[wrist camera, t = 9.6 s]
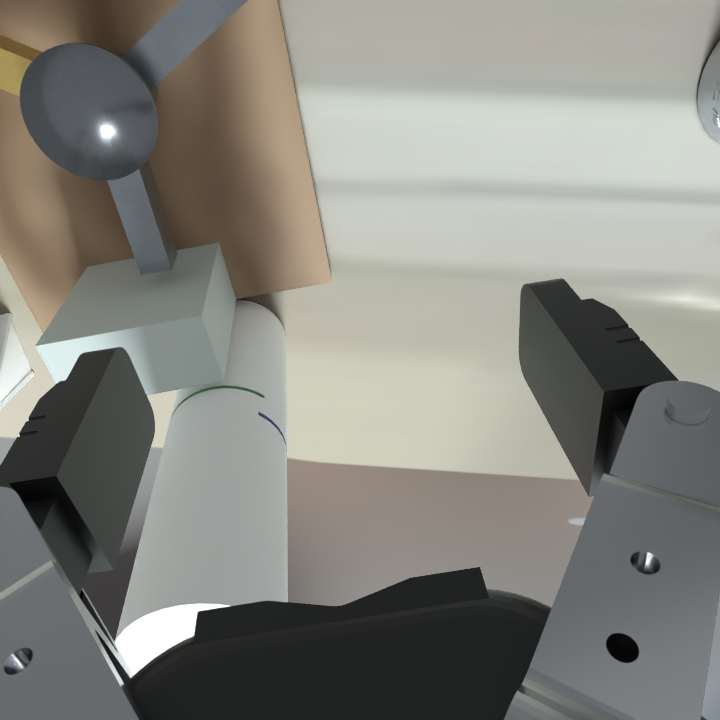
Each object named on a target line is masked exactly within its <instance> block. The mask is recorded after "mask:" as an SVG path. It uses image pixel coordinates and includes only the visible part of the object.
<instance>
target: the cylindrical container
mask: <svg viewBox="0 0 720 720" xmlns="http://www.w3.org/2000/svg"><path fill="white" fill-rule="evenodd" d="M287 588H288V586H287V424H286V335H285V331H284V328H283V326H282V324H281V322H280V321H279V319H278V318H277V317H276V316H275V315H274V314H273V313H272V312H271V311H270V310H268V309H267V308H265V307H263V306H261V305H259V304H257V303H254V302H251V301H245V300H236V304H235V311H234V318H233V325H232V332H231V339H230V346H229V353H228V360H227V367H226V374H225V381H221V382H216V383H210V384H205V385H199V386H194V387H188V388H183V389H178V391H177V395H176V399H175V403H174V407H173V411H172V415H171V420H170V423H169V427H168V431H167V435H166V439H165V443H164V447H163V451H162V456H161V459H160V463H159V467H158V471H157V475H156V479H155V483H154V488H153V491H152V496H151V499H150V504H149V507H148V511H147V515H146V520H145V523H144V528H143V532H142V535H141V539H140V543H139V547H138V552H137V555H136V559H135V563H134V567H133V572H132V576H131V579H130V584H129V587H128V591H127V595H126V599H125V603H124V607H123V611H122V615H121V619H120V623H119V628H118V631H117V635H116V639H115V644H116V646H117V648H118V649H119V651H120V653H121V654H122V656H123V658H124V660H125V661H126V663H127V665H128V666H129V668H130V670H131V671H132V673H133V674H134V675H135V674H136V673H137V672H138V671H139V670H140V669H141V668H143V667H144V666H145V665H146V664H148V663H149V662H150V661H151V660H153V659H154V658H155V657H157V656H158V655H160V654H161V653H163V652H164V651H166V650H167V649H169V648H170V647H172V646H174V645H176V644H178V643H180V642H182V641H183V640H185V639H187V638H190V637H192V636H194V632H195V626H196V619H197V613H198V611H203V610H209V609H216V608H222V607H229V606H235V605H241V604H248V603H254V602H260V601H279V602H288V597H287V596H288V593H287V592H288V590H287Z"/></svg>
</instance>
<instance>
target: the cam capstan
mask: <svg viewBox="0 0 720 720" xmlns="http://www.w3.org/2000/svg"><path fill="white" fill-rule="evenodd" d="M247 1H248V0H181V1H180V2H179V3H178V4H177V5H176V6H175V7H174V8H173V9H172V10H171V11H169V12H168V13H167V14H166V15H165V16H164V17H163V18H162V19H161V20H160V21H159V22H158V23H157V24H156V25H155V26H154V27H153V28H152V29H151V30H150V31H149V32H148V33H147V34H146V35H145V36H144V37H143V38H142V39H140V40H139V41H138V42H137V43H136V44H135V45H134V46H133V47H132V48H131V49H130V50H129V51H128V52H127V53H126V54H116V53H114V52H112V51H110V50H108V49H106V48H103V47H100V46H98V45H94V44H89V43H81V42H74V43H65V44H61V45H58V46H55V47H52V48H50V49H47V50H46V51H44V52H41V51H39V50H36V49H34V48H31V47H29V46H27V45H24V44H22V43H19V42H17V41H14V40H12V39H10V38H7V37H5V36H2V35H0V89H2V90H5V91H7V92H10V93H12V94H15V95H18V96H20V108H21V112H22V117H23V120H24V122H25V125H26V127H27V129H28V132H29V134H30V135H31V137H32V139H33V140H34V142H35V143H36V144H37V146H38V147H39V148H40V150H41V151H42V152H43V153H44V154H45V155H46V156H47V157H48V158H49V159H51V160H52V161H53V162H54V163H55V164H57V165H58V166H60V167H61V168H63V169H65V170H66V171H68V172H70V173H72V174H75V175H77V176H80V177H83V178H86V179H91V180H100V181H107V182H108V184H109V187H110V190H111V193H112V196H113V198H114V201H115V204H116V207H117V210H118V212H119V215H120V218H121V221H122V224H123V227H124V229H125V232H126V235H127V238H128V241H129V243H130V246H131V249H132V252H133V255H134V257H135V260H136V263H137V266H138V269H139V271H140V274H141V275H143V274H150V273H157V272H164V271H171V270H172V268H173V265H174V263H175V260H176V257H177V254H178V253H177V250H176V246H175V243H174V240H173V237H172V233H171V230H170V227H169V224H168V220H167V217H166V214H165V211H164V207H163V204H162V201H161V198H160V195H159V191H158V188H157V185H156V182H155V178H154V175H153V172H152V169H151V165H150V162H149V159H148V158H149V156H150V155H151V153H152V151H153V149H154V147H155V145H156V142H157V139H158V133H159V116H158V110H157V106H156V105H157V102H158V88H157V84H158V83H159V82H160V81H162V80H163V79H164V78H165V77H166V76H167V75H168V74H169V73H170V72H171V71H172V70H173V69H174V68H176V67H177V66H178V65H179V64H180V63H181V62H182V61H183V60H184V59H185V58H186V57H187V56H189V55H190V54H191V53H192V52H193V51H194V50H195V49H196V48H197V47H198V46H199V45H200V44H201V43H203V42H204V41H205V40H206V39H207V38H208V37H209V36H210V35H211V34H212V33H213V32H214V31H215V30H217V29H218V28H219V27H220V26H221V25H222V24H223V23H224V22H225V21H226V20H227V19H228V18H229V17H231V16H232V15H233V14H234V13H235V12H236V11H237V10H238V9H239V8H240V7H241V6H242V5H243V4H245V3H246V2H247Z"/></svg>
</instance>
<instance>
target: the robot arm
mask: <svg viewBox="0 0 720 720" xmlns="http://www.w3.org/2000/svg"><path fill="white" fill-rule="evenodd" d="M697 105H698V113H699V118H700V121H701V123H702V126H703V128H704V130H705V131H706V132H707V133H708V135H709V136H710V137H711V138H712V139H713V140H715V141H716V142H718V143H719V144H720V40H719V42H718V44H717V45H716V47H715V48H714V50H713V51H712V53H711V55H710V57H709V59H708V61H707V63H706V66H705V68H704V70H703V73H702V77H701V80H700V84H699V88H698V100H697ZM519 359H520V365H521V369H522V373H523V376H524V378H525V380H526V382H527V384H528V386H529V387H530V389H531V391H532V393H533V395H534V397H535V399H536V400H537V402H538V404H539V406H540V408H541V410H542V411H543V413H544V415H545V417H546V419H547V421H548V422H549V424H550V426H551V428H552V430H553V432H554V434H555V435H556V437H557V439H558V441H559V443H560V445H561V446H562V448H563V450H564V452H565V454H566V456H567V457H568V459H569V461H570V463H571V465H572V467H573V468H574V470H575V472H576V474H577V476H578V478H579V480H580V481H581V483H582V485H583V487H584V489H585V491H586V492H587V494H588V496H589V497H591V496H594V498H593V501H592V504H591V506H590V509H589V512H588V514H587V517H586V519H585V522H584V525H583V527H582V530H581V532H580V535H579V538H578V540H577V543H576V546H575V548H574V551H573V553H572V556H571V559H570V561H569V564H568V567H567V569H566V572H565V574H564V577H563V580H562V583H561V585H560V588H559V590H558V593H557V596H556V598H555V601H554V604H553V606H552V608H551V607H549V606H547V605H545V604H542V603H540V602H538V601H536V600H533V599H531V598H527V597H524V596H521V595H518V594H514V593H509V592H505V591H500V590H492V589H486V586H485V583H484V579H483V576H482V573H481V570H480V567H477V568H471V569H464V570H458V571H452V572H445V573H440V574H432V575H426V576H420V577H413V578H409V579H407V580H404V581H402V582H399V583H397V584H395V585H392V586H390V587H387V588H385V589H382V590H380V591H378V592H375V593H373V594H371V595H368V596H365V597H363V598H361V599H358V600H356V601H353V602H351V603H348V604H345V605H342V606H322V605H311V604H301V603H289V602H279V601H260V602H254V603H248V604H241V605H235V606H229V607H222V608H216V609H209V610H203V611H198V613H197V619H196V626H195V632H194V636H192V637H190V638H187V639H185V640H183V641H182V642H180V643H178V644H176V645H174V646H172V647H170V648H169V649H167V650H166V651H164V652H163V653H161V654H160V655H158V656H157V657H155V658H154V659H153V660H151V661H150V662H149V663H148V664H146V665H145V666H144V667H143V668H141V669H140V670H139V671H138V672H137V673H136V674H135V675H134V674H133V673H132V671H131V670H130V668H129V666H128V665H127V663H126V661H125V660H124V658H123V656H122V654H121V653H120V651H119V649H118V648H117V646H116V644H115V642H114V641H113V639H112V637H111V636H110V634H109V632H108V630H107V629H106V627H105V625H104V623H103V622H102V620H101V618H100V617H99V615H98V614H97V611H96V610H95V608H94V606H93V605H92V603H91V601H90V599H89V598H88V596H87V595H86V593H85V592H84V590H83V589H82V587H83V584H84V581H85V578H86V575H87V574H89V573H95V572H102V571H108V570H113V569H114V567H115V563H116V560H117V557H118V553H119V550H120V546H121V543H122V540H123V537H124V533H125V530H126V527H127V524H128V520H129V517H130V514H131V510H132V507H133V504H134V500H135V497H136V494H137V490H138V487H139V484H140V480H141V477H142V474H143V471H144V467H145V464H146V461H147V457H148V454H149V451H150V448H151V444H152V441H153V438H154V432H155V421H154V414H153V410H152V407H151V404H150V402H149V400H148V398H147V395H146V393H145V391H144V388H143V386H142V384H141V381H140V379H139V377H138V375H137V372H136V370H135V368H134V365H133V363H132V361H131V358H130V356H129V354H128V353H127V351H126V350H125V349H124V348H122V347H116V348H110V349H104V350H97V351H91V352H84V353H82V354H81V355H80V356H79V357H78V359H77V361H76V363H75V365H74V366H73V368H72V370H71V372H70V374H69V375H68V377H67V379H66V380H64V381H59V382H58V383H57V384H56V385H55V386H54V387H53V388H51V389H50V390H49V391H48V392H47V393H46V394H45V395H44V396H43V397H41V398H40V399H39V401H38V403H37V404H36V406H35V408H34V409H33V411H32V413H31V414H30V416H29V421H28V422H26V423H25V425H24V426H23V428H22V430H21V431H20V433H19V434H20V437H17V438H16V440H15V442H14V443H13V445H12V447H11V448H10V450H9V452H8V454H7V455H6V457H5V459H4V461H3V462H2V464H1V465H0V720H707V719H705V718H704V717H702V716H701V712H702V706H703V699H704V692H705V686H706V680H707V673H708V666H709V660H710V654H711V647H712V640H713V634H714V628H715V621H716V615H717V608H718V602H719V595H720V392H719V391H717V390H714V389H712V388H710V387H707V386H704V385H701V384H697V383H693V382H687V381H679V380H678V379H677V378H676V377H675V376H674V375H673V374H672V372H671V371H670V370H669V369H668V368H667V367H666V366H665V365H664V364H663V363H662V361H661V360H660V359H659V358H658V357H657V356H656V355H655V354H654V353H653V352H652V350H651V349H650V348H649V347H648V346H647V345H646V344H645V343H644V342H643V341H640V337H639V336H638V335H637V334H636V333H635V332H634V331H633V330H632V328H629V327H628V324H627V323H626V322H625V321H624V320H623V319H622V317H621V316H620V315H619V314H618V313H617V312H616V311H615V310H614V309H612V308H610V307H608V306H606V305H604V304H602V303H600V302H598V301H596V300H594V299H586V300H581V299H580V298H579V297H578V295H577V294H576V293H575V292H574V291H573V289H572V288H571V287H570V286H569V285H568V283H567V282H566V281H565V280H564V279H555V280H548V281H542V282H536V283H529V284H524V285H523V287H522V290H521V298H520V327H519Z"/></svg>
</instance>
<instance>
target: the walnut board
mask: <svg viewBox="0 0 720 720" xmlns="http://www.w3.org/2000/svg"><path fill="white" fill-rule="evenodd" d="M180 1H181V0H0V35H2V36H5V37H7V38H10V39H12V40H14V41H17V42H19V43H22V44H24V45H27V46H29V47H31V48H34V49H36V50H39V51H41V52H44V51H46V50H47V49H50V48H52V47H55V46H58V45H61V44H65V43H74V42H81V43H89V44H94V45H98V46H100V47H103V48H106V49H108V50H110V51H112V52H114V53H116V54H126V53H127V52H128V51H129V50H130V49H131V48H132V47H133V46H134V45H135V44H136V43H137V42H138V41H139V40H140V39H142V38H143V37H144V36H145V35H146V34H147V33H148V32H149V31H150V30H151V29H152V28H153V27H154V26H155V25H156V24H157V23H158V22H159V21H160V20H161V19H162V18H163V17H164V16H165V15H166V14H167V13H168V12H169V11H171V10H172V9H173V8H174V7H175V6H176V5H177V4H178V3H179V2H180ZM157 88H158V102H157V105H156V106H157V110H158V116H159V133H158V139H157V142H156V145H155V147H154V149H153V151H152V153H151V155H150V156H149V158H148V159H149V162H150V165H151V169H152V172H153V175H154V178H155V182H156V185H157V188H158V191H159V195H160V198H161V201H162V204H163V207H164V211H165V214H166V217H167V220H168V224H169V227H170V230H171V233H172V237H173V240H174V243H175V246H176V250H181V249H187V248H192V247H198V246H203V245H209V244H214V243H219V245H220V248H221V251H222V255H223V258H224V261H225V264H226V268H227V271H228V274H229V277H230V281H231V284H232V287H233V291H234V294H235V297H236V299H241V298H246V297H252V296H257V295H263V294H268V293H273V292H279V291H284V290H290V289H295V288H301V287H306V286H312V285H317V284H323V283H328V282H332V278H331V272H330V267H329V262H328V257H327V252H326V246H325V241H324V236H323V231H322V226H321V221H320V216H319V210H318V205H317V200H316V195H315V190H314V185H313V179H312V174H311V169H310V164H309V159H308V154H307V149H306V143H305V138H304V133H303V128H302V123H301V118H300V112H299V107H298V102H297V97H296V92H295V87H294V81H293V76H292V71H291V66H290V61H289V56H288V51H287V45H286V40H285V35H284V30H283V25H282V20H281V14H280V9H279V4H278V0H248V1H247V2H246V3H245V4H243V5H242V6H241V7H240V8H239V9H238V10H237V11H236V12H235V13H234V14H233V15H232V16H231V17H229V18H228V19H227V20H226V21H225V22H224V23H223V24H222V25H221V26H220V27H219V28H218V29H217V30H215V31H214V32H213V33H212V34H211V35H210V36H209V37H208V38H207V39H206V40H205V41H204V42H203V43H201V44H200V45H199V46H198V47H197V48H196V49H195V50H194V51H193V52H192V53H191V54H190V55H189V56H187V57H186V58H185V59H184V60H183V61H182V62H181V63H180V64H179V65H178V66H177V67H176V68H174V69H173V70H172V71H171V72H170V73H169V74H168V75H167V76H166V77H165V78H164V79H163V80H162V81H160V82H159V83H158V84H157ZM0 255H1V257H2V259H3V260H4V262H5V264H6V266H7V268H8V270H9V271H10V273H11V275H12V277H13V279H14V281H15V283H16V284H17V286H18V288H19V290H20V292H21V294H22V295H23V297H24V299H25V301H26V303H27V305H28V307H29V308H30V310H31V312H32V314H33V316H34V318H35V319H36V321H37V323H38V325H39V327H40V329H41V330H42V332H43V333H44V332H45V330H46V329H47V327H48V326H49V324H50V323H51V321H52V320H53V318H54V317H55V315H56V314H57V312H58V311H59V309H60V307H61V306H62V304H63V303H64V301H65V300H66V298H67V297H68V295H69V294H70V292H71V291H72V289H73V288H74V286H75V285H76V283H77V282H78V280H79V279H80V277H81V275H82V274H83V272H84V271H85V269H86V268H87V267H88V266H93V265H99V264H104V263H110V262H115V261H121V260H126V259H132V258H135V257H134V255H133V252H132V249H131V246H130V243H129V241H128V238H127V235H126V232H125V229H124V227H123V224H122V221H121V218H120V215H119V212H118V210H117V207H116V204H115V201H114V198H113V196H112V193H111V190H110V187H109V184H108V182H107V181H100V180H91V179H86V178H83V177H80V176H77V175H75V174H72V173H70V172H68V171H66V170H65V169H63V168H61V167H60V166H58V165H57V164H55V163H54V162H53V161H52V160H51V159H49V158H48V157H47V156H46V155H45V154H44V153H43V152H42V151H41V150H40V148H39V147H38V146H37V144H36V143H35V142H34V140H33V139H32V137H31V135H30V134H29V132H28V129H27V127H26V125H25V122H24V120H23V117H22V112H21V108H20V96H18V95H15V94H12V93H10V92H7V91H5V90H2V89H0Z"/></svg>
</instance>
